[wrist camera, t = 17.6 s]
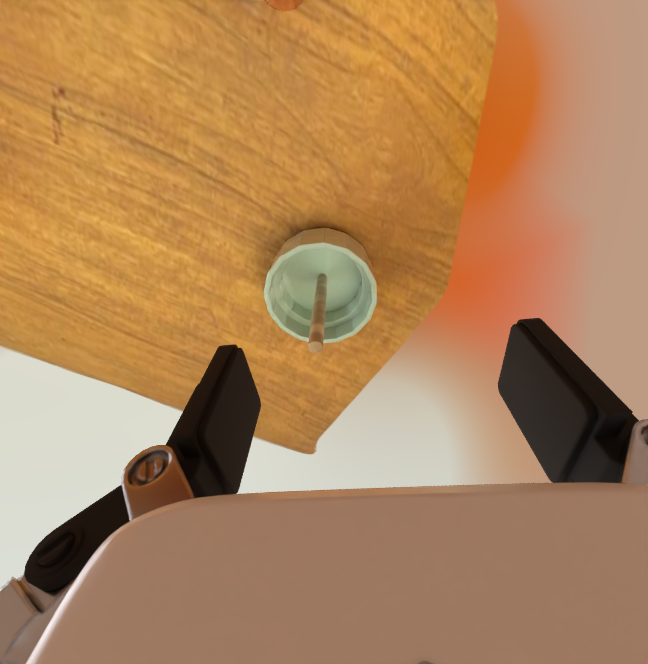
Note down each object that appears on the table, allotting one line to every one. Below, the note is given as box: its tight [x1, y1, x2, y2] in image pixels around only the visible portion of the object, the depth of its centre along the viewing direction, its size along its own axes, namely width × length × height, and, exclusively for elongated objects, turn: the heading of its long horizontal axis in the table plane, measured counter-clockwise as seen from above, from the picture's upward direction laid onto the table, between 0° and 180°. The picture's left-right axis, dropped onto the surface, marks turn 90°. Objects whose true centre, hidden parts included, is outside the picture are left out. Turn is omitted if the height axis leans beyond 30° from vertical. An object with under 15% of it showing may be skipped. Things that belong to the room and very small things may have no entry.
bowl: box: [264, 228, 377, 343], centre depth 40 cm, size 13×13×6 cm
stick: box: [308, 274, 328, 353], centre depth 36 cm, size 1×1×15 cm
